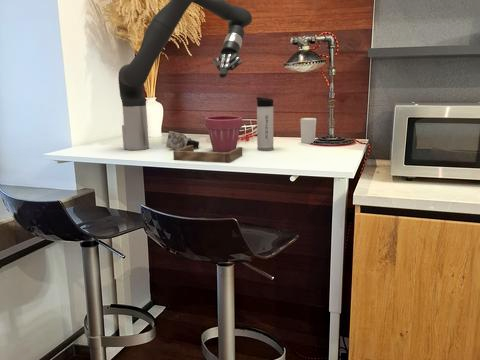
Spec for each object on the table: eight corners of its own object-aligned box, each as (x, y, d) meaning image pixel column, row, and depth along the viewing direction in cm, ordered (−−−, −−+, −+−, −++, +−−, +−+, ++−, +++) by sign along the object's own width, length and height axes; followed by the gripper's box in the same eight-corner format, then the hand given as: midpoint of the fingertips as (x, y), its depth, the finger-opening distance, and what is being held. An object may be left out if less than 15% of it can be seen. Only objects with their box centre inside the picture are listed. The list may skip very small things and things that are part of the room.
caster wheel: (199, 153, 186) (191, 154, 176) (174, 146, 188) (165, 147, 178) (203, 137, 185) (195, 137, 175) (177, 131, 187) (168, 130, 177)
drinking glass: (314, 144, 187) (315, 119, 184) (298, 143, 189) (298, 119, 186) (317, 141, 193) (317, 118, 190) (301, 141, 195) (302, 117, 192)
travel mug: (261, 147, 181) (260, 96, 176) (276, 148, 178) (276, 97, 173) (253, 150, 176) (253, 97, 171) (268, 151, 172) (268, 98, 168)
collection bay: (173, 159, 160) (173, 151, 159) (190, 152, 172) (189, 145, 171) (229, 162, 153) (229, 153, 152) (242, 155, 165) (242, 147, 164)
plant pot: (236, 154, 168) (236, 119, 165) (201, 152, 172) (200, 119, 169) (246, 147, 182) (246, 115, 179) (213, 146, 185) (212, 115, 182)
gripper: (214, 40, 193) (204, 70, 185) (244, 38, 189) (235, 69, 181) (219, 53, 199) (210, 82, 191) (248, 52, 195) (239, 82, 187)
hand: (222, 76), depth 186 cm, fingers closed
